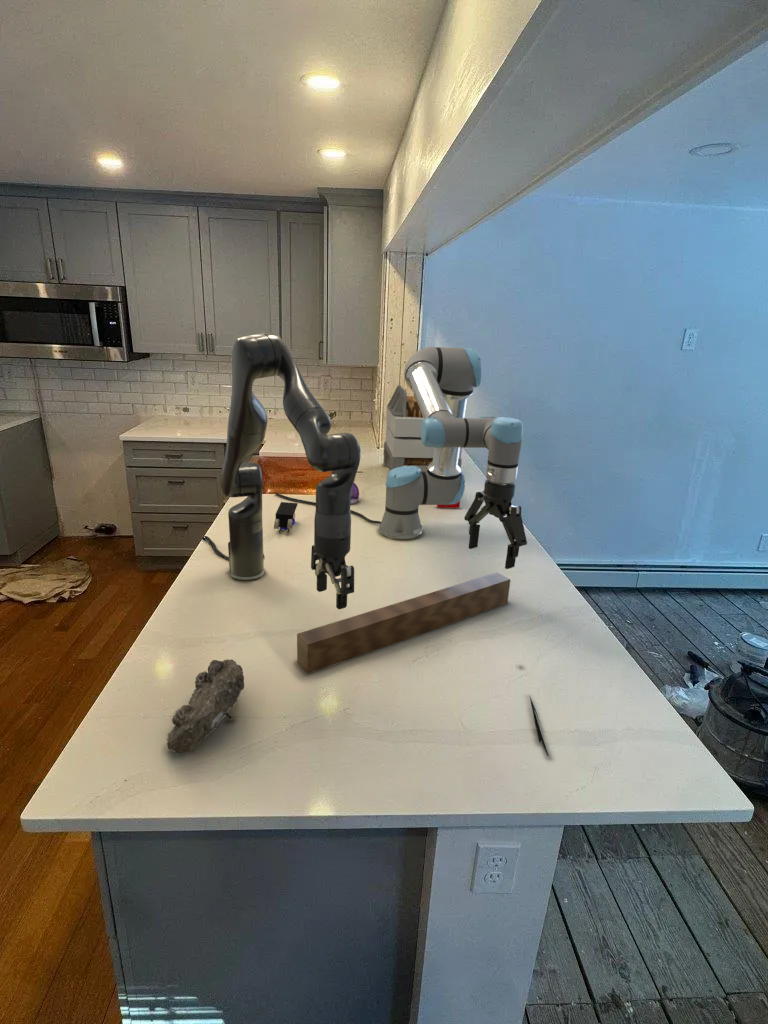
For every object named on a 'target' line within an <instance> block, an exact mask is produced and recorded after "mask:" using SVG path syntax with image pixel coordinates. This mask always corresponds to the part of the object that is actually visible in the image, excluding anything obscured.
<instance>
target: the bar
mask: <svg viewBox="0 0 768 1024" xmlns="http://www.w3.org/2000/svg"><path fill="white" fill-rule="evenodd" d="M510 586H511V578H509V577H507V576H505V575H503V574H501V573H500V572H494V573H489V574H487V575H484V576H481V577H478V578H474V579H471V580H468V581H465V582H461V583H458V584H455V585H451V586H448V587H445V588H442V589H439V590H435V591H432V592H428V593H425V594H421V595H419V596H416V597H412V598H409V599H405V600H403V601H399V602H396V603H393V604H389V605H386V606H382V607H380V608H376V609H373V610H370V611H367V612H364V613H359V614H357V615H353V616H350V617H347V618H343V619H341V620H337V621H334V622H331V623H327V624H325V625H320V626H318V627H314V628H311V629H308V630H304V631H301V632H297V633H296V649H297V650H296V654H297V657H296V659H297V661H296V663H297V664H298V665H299V666H300V667H301V668H302V669H303V670H304V672H305V673H306V674H307V675H308V674H311V673H314V672H318V671H321V670H323V669H326V668H329V667H331V666H335V665H337V664H340V663H343V662H346V661H348V660H352V659H354V658H357V657H360V656H363V655H366V654H368V653H371V652H373V651H377V650H379V649H383V648H385V647H388V646H391V645H394V644H396V643H399V642H403V641H406V640H408V639H411V638H414V637H416V636H419V635H422V634H425V633H428V632H430V631H434V630H436V629H438V628H439V629H440V628H442V627H446V626H448V625H450V624H453V623H456V622H460V621H461V620H464V619H468V618H471V617H473V616H476V615H478V614H482V613H484V612H488V611H490V610H493V609H495V608H498V607H501V606H504V605H507V604H508V603H509V594H510V593H509V592H510V588H511V587H510Z"/></svg>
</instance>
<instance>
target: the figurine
mask: <svg viewBox="0 0 768 1024" xmlns="http://www.w3.org/2000/svg"><path fill="white" fill-rule="evenodd" d="M359 497H360V489H359V487H358V485H357V484H356V483H355V482H354V483H353V486H352V489H351V504H350V505H352V504H356V503H357V502H359Z"/></svg>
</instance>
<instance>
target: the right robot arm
mask: <svg viewBox="0 0 768 1024" xmlns="http://www.w3.org/2000/svg"><path fill="white" fill-rule="evenodd" d="M482 379H483V364H482V359H481V355H480V354H479V352H478V350H476V349H474V348H467V347H464V346H463V347H445V346H439V347H438V346H428V347H424V348H421V349H419V350H417V351H416V352H415V353H413V355H411V356H410V357H409V359H408V360H407V362H406V364H405V367H404V380H405V383H406V386H407V387H408V388H409V389H410V390H411V391H412V392H413V394H414V396H415V397H416V400H417V402H418V405H419V407H420V410H421V413H422V415H423V418H424V420H423V421H422V424H421V441H422V444H423V445H424V446H426V447H434V454H433V462H431V463H430V464H428V466H426V471H422V469H421V467H420V466H407V465H404V466H402V467H397V468H394V469H392V470H390V469H389V470H388V473H387V475H386V480H385V504H384V505H385V507H384V508H385V509H384V513H383V515H382V519H381V521H380V520H372V519H370V518H368V517H366V516H365V515H363V514H362V513H361V512H360V513H359V512H358V511H355V510H352V509H350V514H354V515H356V516H359V517H361V518H362V519H364V520H365V521H367V522H368V523H371V524H378V525H379V526H378V533H379V534H380V535H381V536H382V537H385V538H387V539H389V540H395V541H410V540H415V539H418V538H420V537H421V536H422V535H423V525H422V524H421V518H420V515H419V507H420V506H437V505H449V504H456V503H458V502H459V501H460V502H461V500H462V499H463V496H464V493H465V489H466V485H465V483H466V477H465V474H464V472H462V467H461V468H460V467H459V466H458V458H459V451H460V447H462V448H463V449H464V448H466V449H467V448H468V449H470V448H473V449H474V448H475V449H477V448H478V449H482V448H484V449H485V448H486V449H487V450H488V455H487V463H486V472H485V478H486V479H485V481H484V488H483V490H481V491H476V492H475V496H474V499H473V501H472V503H471V505H470V507H469V508H468V510H467V512H466V513H465V515H464V518H463V519H464V521H466V522H468V525H469V526H468V536H469V539H468V546H467V547H468V549H469V550H472V549H476V548H479V547H478V546H479V540H480V539H479V538H480V530H481V525H480V522H481V521H482V520H483V519H485V518H486V516H487V515H491V516H494V517H495V518H498V520H499V521H500V522H501V524H502V526H503V528H504V531H505V533H506V536H507V538H508V541H509V544H507V549H506V556H505V564H504V569H505V570H509V569H513V568H515V567H516V566H515V565H516V561H517V560H516V558H518V557H519V552H520V547H524V546H526V545H528V541H527V536H526V530H525V526H524V522H523V518H522V506H521V505H513V503H512V500H513V498H514V496H515V493H516V492H515V491H516V483H515V482H517V478H518V468H519V461H520V455H521V447H522V442H523V438H524V433H523V432H524V424H523V422H522V421H521V419H517V418H513V417H506V416H502V417H501V416H500V417H495V416H492V415H487V414H486V415H481V416H479V417H478V418H477V417H476V418H474V417H473V418H469V417H465V416H466V408H467V401H468V398H469V397H471V396H472V395H473V394H474V388H478V387H480V386H481V383H482ZM275 496H277V497H280V498H283V499H286V500H290V501H293V502H296V503H302V504H308V505H314V506H316V501H310V500H309V501H308V500H304V499H300V498H294V497H290V496H287V495H284V494H281V493H279V492H275ZM483 503H484V506H482V505H483Z"/></svg>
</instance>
